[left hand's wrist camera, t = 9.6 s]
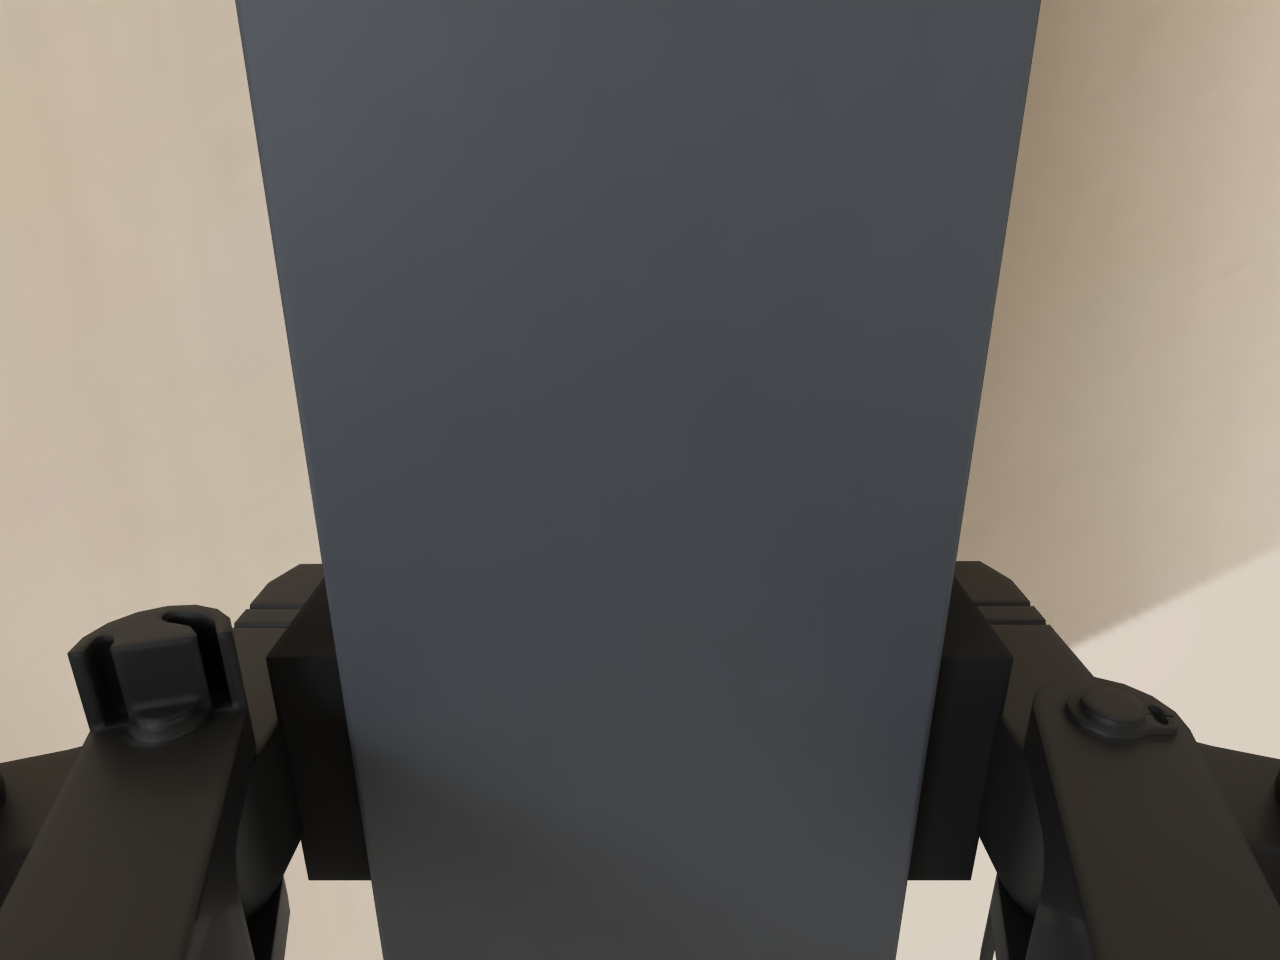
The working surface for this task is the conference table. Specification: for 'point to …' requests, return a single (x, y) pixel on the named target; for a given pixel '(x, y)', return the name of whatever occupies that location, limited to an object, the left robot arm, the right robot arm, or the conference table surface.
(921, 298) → the post
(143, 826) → the left robot arm
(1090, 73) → the conference table surface
